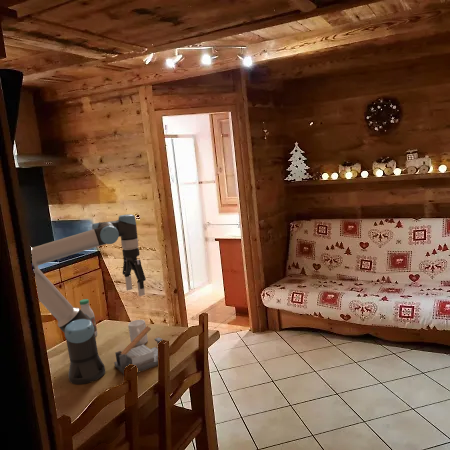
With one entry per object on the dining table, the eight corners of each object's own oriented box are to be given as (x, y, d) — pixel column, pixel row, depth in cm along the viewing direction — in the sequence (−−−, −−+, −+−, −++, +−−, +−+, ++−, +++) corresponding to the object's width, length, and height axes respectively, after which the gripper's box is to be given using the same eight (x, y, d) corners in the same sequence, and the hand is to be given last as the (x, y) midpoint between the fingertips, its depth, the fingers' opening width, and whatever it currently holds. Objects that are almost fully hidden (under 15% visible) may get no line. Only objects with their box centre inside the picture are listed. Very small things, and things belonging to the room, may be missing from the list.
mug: (149, 346, 214) (146, 326, 213) (131, 350, 213) (128, 330, 211) (147, 337, 226) (144, 318, 224) (130, 341, 224) (127, 321, 223)
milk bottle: (79, 339, 234) (73, 302, 231) (88, 333, 242) (81, 297, 238) (92, 339, 232) (86, 302, 229) (100, 333, 239) (94, 297, 236)
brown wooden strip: (121, 359, 190) (120, 358, 190) (119, 357, 193) (117, 355, 193) (151, 329, 197) (150, 327, 197) (148, 327, 200) (146, 325, 199)
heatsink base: (126, 377, 186) (123, 359, 185) (114, 366, 198) (111, 349, 197) (170, 360, 197) (167, 342, 196) (156, 350, 209) (154, 334, 208)
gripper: (150, 249, 198) (155, 295, 201) (127, 243, 218) (131, 285, 221) (134, 252, 194) (139, 299, 197) (112, 246, 214) (117, 289, 217)
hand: (135, 292), depth 209 cm, fingers open, 13 cm apart
